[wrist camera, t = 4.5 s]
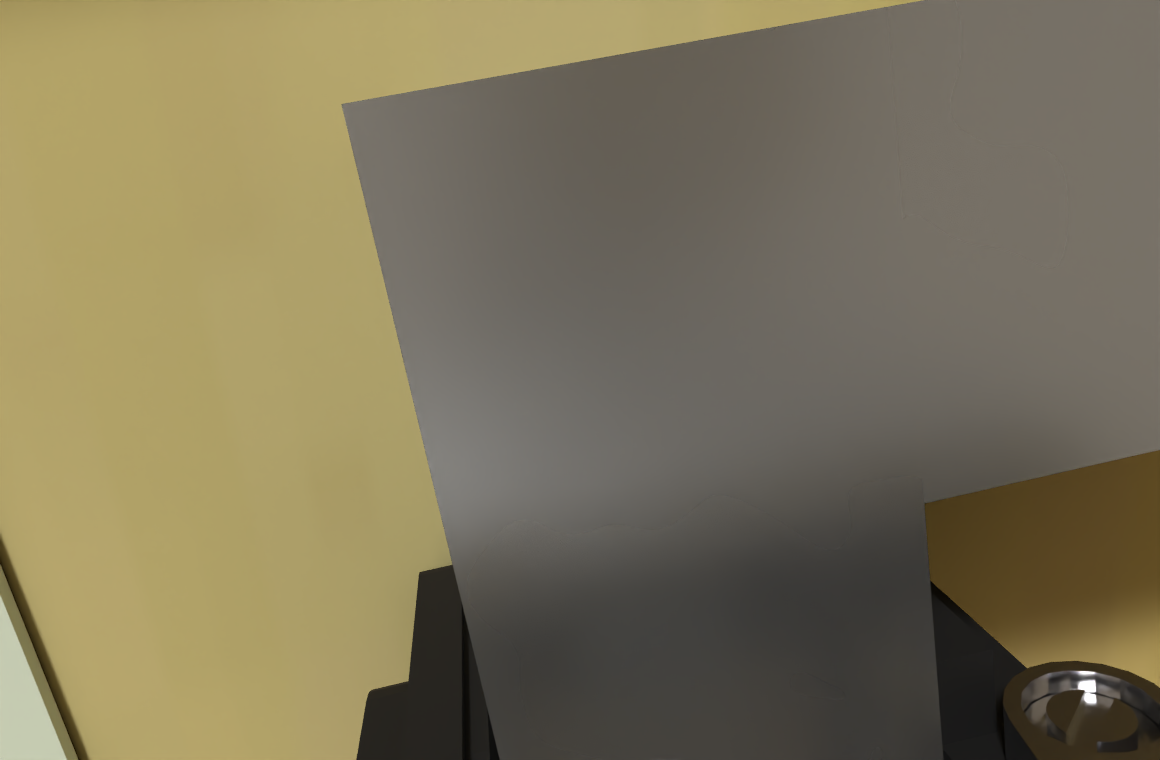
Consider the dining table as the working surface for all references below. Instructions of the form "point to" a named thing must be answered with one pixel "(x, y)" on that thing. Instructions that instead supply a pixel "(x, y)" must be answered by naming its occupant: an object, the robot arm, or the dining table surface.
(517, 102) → the bracket
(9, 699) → the mat
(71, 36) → the dining table surface
